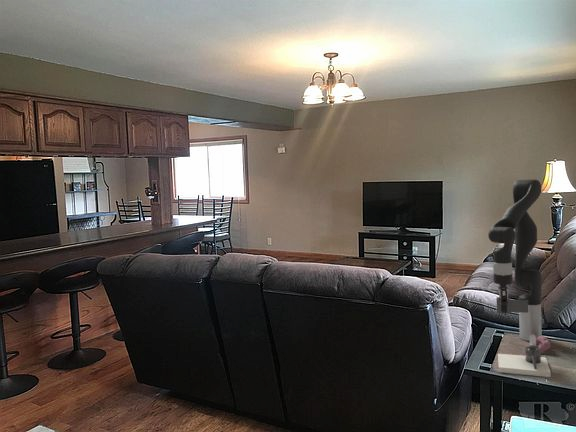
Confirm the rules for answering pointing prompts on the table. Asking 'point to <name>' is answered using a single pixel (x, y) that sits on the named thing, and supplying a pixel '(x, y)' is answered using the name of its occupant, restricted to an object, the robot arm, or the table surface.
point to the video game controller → (542, 343)
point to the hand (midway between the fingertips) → (503, 310)
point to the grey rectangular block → (513, 305)
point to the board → (522, 365)
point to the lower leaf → (533, 352)
